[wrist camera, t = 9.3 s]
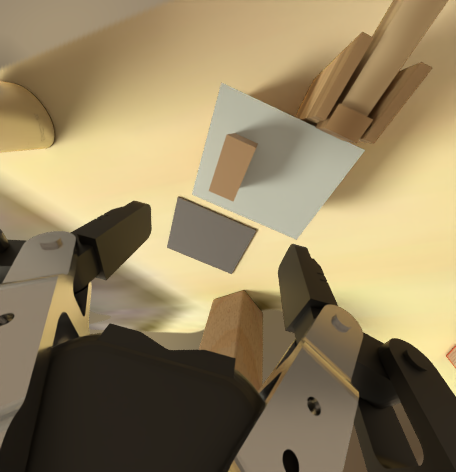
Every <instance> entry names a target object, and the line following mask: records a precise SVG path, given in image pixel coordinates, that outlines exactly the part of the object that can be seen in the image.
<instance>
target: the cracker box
mask: <svg viewBox="0 0 456 472" xmlns="http://www.w3.org/2000/svg"><path fill="white" fill-rule="evenodd" d="M446 357H447V358H448V359H449V361H450V362H451V363H452V364H453V366H454V367H455V368H456V346H455V347H454V348H453V349H452V350H451V351H450V352H449V353H448V354H447V355H446Z"/></svg>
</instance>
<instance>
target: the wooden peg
mask: <svg viewBox="0 0 456 472" xmlns="http://www.w3.org/2000/svg"><path fill="white" fill-rule="evenodd" d="M447 2H448V0H393V2H392V3H391V5H390V7H389V9H388V10H387V12H386V14H385V15H384V17H383V19H382V21H381V22H380V24H379V26H378V28H377V29H376V31H375V33H374V34H373V36H372V37H373V40H372V42H371V43H370V45H369V47H368V49H367V50H366V52H365V54H364V55H363V57H362V59H361V61H360V62H359V64H358V66H357V67H356V69H355V71H354V72H353V74H352V76H351V78H350V79H349V81H348V83H347V84H346V86H345V88H344V89H343V91H342V93H341V95H340V96H339V98H338V100H337V101H336V103H335V105H334V106H333V108H332V110H331V112H330V113H329V115H328V117H327V118H326V120H325V121H319V122H318V124H317V126H316V128H317V129H319V130H321V131H323V132H325V133H328V134H330V135H332V136H334V137H336V138H338V139H340V140H343V141H349V142H355V143H357V142H358V140H359V139H360V138H361V136H362V135H363V134H364V132H365V131H366V129H367V128H368V127H369V125H370V124H371V122H372V121H373V119H371V118H369V117H367V116H368V115H369V113H370V112H371V110H372V109H373V107H374V106H375V105H376V103H377V102H378V100H379V99H380V97H381V96H382V95H383V93H384V92H385V90H386V89H387V87H388V86H389V85H390V83H391V82H392V80H393V79H394V77H395V76H396V75H397V73H398V72H399V70H400V69H401V67H402V66H403V65H404V63H405V62H406V60H407V59H408V57H409V56H410V55H411V53H412V52H413V50H414V49H415V47H416V46H417V45H418V43H419V42H420V40H421V39H422V37H423V36H424V35H425V33H426V32H427V30H428V29H429V27H430V26H431V25H432V23H433V22H434V20H435V19H436V17H437V16H438V14H439V13H440V12H441V10H442V9H443V7H444V6H445V4H446V3H447Z"/></svg>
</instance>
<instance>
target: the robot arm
mask: <svg viewBox="0 0 456 472" xmlns="http://www.w3.org/2000/svg"><path fill="white" fill-rule="evenodd" d="M54 136H55V135H54V128H53V124H52V122H51V119H50V117H49V115H48V113H47V111H46V110H45V108H44V107H43V105H42V104H41V103H40V102H39V100H38V99H37V98H36V97H35V96H34V95H33V94H32V93H31V92H29V91H28V90H27V89H25V88H24V87H22V86H20V85H18V84H15V83H9V82H4V81H0V153H2V152H12V151H23V150H34V149H44V148H48V147H50V146H51V145H52V144H53V141H54ZM150 234H151V207H150V205H149V204H145V203H142V202H138V201H132V202H131V203H129V204H127V205H126V206H124V207H120V208H116V209H112V210H110V211H109V212H107V213H105V214H104V215H102V216H100V217H98V218H97V219H94V220H93V221H91V222H89V223H87V224H85V225H84V226H82V227H80V228H78V229H76V230H75V231H73V232H71V233H69V232H64V231H54V232H47V233H43V234H39V235H37V236H34V237H32V238H30V239H29V240H27V241H23V240H7V239H6V237H5V235H4V234H3V232H2V231H1V230H0V472H342V471H343V467H344V463H345V458H346V454H347V450H348V445H349V440H350V436H351V432H352V427H353V423H354V425H355V429H356V432H357V435H358V439H359V443H360V446H361V450H362V453H363V457H364V460H365V464H366V468H367V471H368V472H456V396H455V395H454V394H453V392H452V391H451V389H450V388H449V386H448V385H447V383H446V382H445V381H444V379H443V378H442V376H441V375H440V373H439V372H438V371H437V369H436V368H435V366H434V365H433V364H432V363H431V361H430V360H429V359H428V358H427V357H426V356H425V355H424V354H423V353H421V352H420V351H419V350H418V349H417V348H415V347H414V346H412V345H411V344H409V343H407V342H406V341H403V340H401V339H397V338H393V339H391V340H389V341H388V342H386V343H385V344H384V343H382V342H380V341H378V340H376V339H375V338H373V337H371V336H369V335H367V334H365V333H363V331H362V329H361V327H360V325H359V323H358V322H357V321H356V319H355V318H354V317H353V316H352V315H351V314H350V313H348V312H347V311H346V310H344V309H342V308H341V307H338V305H337V302H336V300H335V298H334V296H333V293H332V291H331V289H330V287H329V284H328V283H327V280H326V278H325V276H324V273H323V271H322V269H321V267H320V265H319V264H318V263H317V262H316V261H315V260H314V259H312V258H311V257H310V254H309V252H308V249H307V248H306V247H302V246H299V245H295V244H291V245H290V247H289V249H288V250H287V252H286V254H285V256H284V258H283V260H282V262H281V264H280V266H279V270H278V278H279V286H280V293H281V301H282V309H283V316H284V324H285V330H286V331H289V332H293V333H295V337H296V339H295V340H294V341H293V342H292V344H291V345H290V347H289V348H288V350H287V351H286V353H285V354H284V356H283V357H282V358H281V360H280V361H279V363H278V365H277V366H276V367H275V369H274V370H273V372H272V373H271V374H270V376H269V377H268V378H267V380H266V381H265V382H264V384H263V385H262V386H261V387H260V389H259V390H258V391H257V390H256V388H255V387H254V386H253V384H252V383H251V382H250V381H249V380H248V379H247V378H246V377H245V376H244V375H243V374H241V373H240V372H239V371H237V370H236V369H235V360H236V358H233V357H229V356H226V355H222V354H218V353H215V352H211V351H208V350H168V349H166V348H164V347H163V346H161V345H159V344H158V343H157V342H155V341H154V340H152V339H151V338H149V337H148V336H146V335H144V334H143V333H141V332H139V331H136V330H132V329H128V328H125V327H121V326H117V325H114V324H109V325H108V326H107V328H106V329H105V330H104V332H103V333H97V334H90V331H89V311H90V299H91V288H92V284H91V281H92V280H93V279H94V278H95V277H96V278H100V279H103V280H107V279H108V278H109V277H110V276H111V275H112V274H113V273H114V272H115V271H116V270H117V269H118V268H119V267H120V266H121V265H122V264H123V263H124V262H125V261H126V260H127V259H128V258H129V257H130V256H131V255H132V254H133V253H134V252H135V251H136V250H137V249H138V248H139V247H140V246H141V245H142V244H143V243H144V242H145V241H146V240H147V239H148V238H149V236H150ZM398 403H401V404H402V405H403V407H404V410H405V412H406V414H407V416H408V418H409V420H410V422H411V424H412V426H413V429H414V431H415V433H416V435H417V437H418V439H419V441H420V443H421V446H422V449H423V454H424V460H423V463H422V465H421V466H418V463H417V461H416V459H415V457H414V454H413V452H412V450H411V448H410V445H409V443H408V441H407V439H406V436H405V434H404V432H403V429H402V427H401V425H400V423H399V420H398V418H397V416H396V414H395V411H394V409H393V407H392V406H393V405H396V404H398Z"/></svg>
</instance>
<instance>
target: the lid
mask: <svg viewBox="0 0 456 472" xmlns="http://www.w3.org/2000/svg"><path fill="white" fill-rule="evenodd" d="M364 151H365V150H364V149H362V148H359V147H357V146H355V145H353V144H351V143H349V142H347V141H343V140H340V139H338V138H336V137H334V136H332V135H330V134H328V133H325V132H323V131H321V130H319V129H317V128H316V127H315V126H313V125H311V124H308V123H306V122H304V121H302V120H300V119H298V118H296V117H294V116H291V115H289V114H287V113H285V112H283V111H281V110H279V109H277V108H275V107H272V106H270V105H268V104H266V103H264V102H262V101H260V100H258V99H255V98H253V97H251V96H249V95H247V94H245V93H243V92H241V91H238V90H236V89H234V88H232V87H230V86H228V85H226V84H224V83H221V86H220V90H219V94H218V97H217V101H216V105H215V109H214V113H213V116H212V120H211V124H210V128H209V132H208V135H207V139H206V143H205V147H204V151H203V154H202V158H201V162H200V166H199V170H198V173H197V177H196V181H195V185H194V189H193V192H192V195H194V196H197V197H199V198H201V199H203V200H206V201H208V202H210V203H213V204H215V205H217V206H220V207H222V208H224V209H227V210H229V211H231V212H234V213H236V214H238V215H241V216H243V217H245V218H248V219H250V220H252V221H255V222H257V223H259V224H261V225H264V226H266V227H268V228H271V229H273V230H275V231H278V232H280V233H282V234H285V235H287V236H289V237H292V238H294V239H296V240H297V238H298V237H299V236H300V234H301V233H302V232H303V231H304V229H305V228H306V227H307V225H308V224H309V223H310V221H311V220H312V219H313V218H314V216H315V215H316V214H317V212H318V211H319V210H320V208H321V207H322V206H323V204H324V203H325V202H326V201H327V199H328V198H329V197H330V195H331V194H332V193H333V191H334V190H335V189H336V188H337V186H338V185H339V184H340V182H341V181H342V180H343V178H344V177H345V176H346V174H347V173H348V172H349V171H350V169H351V168H352V167H353V165H354V164H355V163H356V161H357V160H358V159H359V158H360V156H361V155H362V154H363V152H364Z"/></svg>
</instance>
